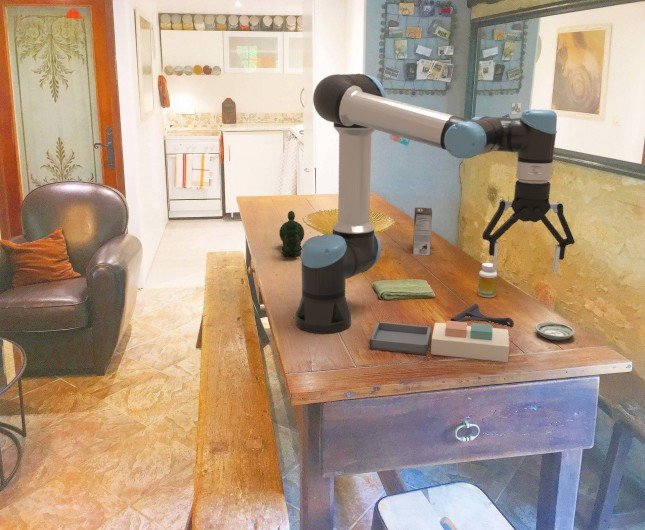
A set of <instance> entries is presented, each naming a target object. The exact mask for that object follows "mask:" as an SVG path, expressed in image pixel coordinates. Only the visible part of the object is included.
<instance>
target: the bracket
mask: <svg viewBox="0 0 645 530" xmlns="http://www.w3.org/2000/svg"><path fill="white" fill-rule="evenodd" d="M469 316H470V317H469ZM471 320H473V321H474V320H478V322H479V320H480V322H488V321H491V322H490V323H492V322H494V323H493V324H496V323H498V324H497V325H500V324H502V325H501V326H504V325H508V324H509V325H508V326H510V327H509V328H512V327H513V326H514V320H513V319H512V318H511V317H493V316H492V317H490V316H486V315H484V314H483V313H481V312H480V308H479V305H478V304H477V303H474V304H472V305H471V306H469V307H468V308H466V309H464V310H463V311H461V312H460V313H458V314H457V315H455V316H454V317H452V318H451V319H450V320H449V321H458V322H473V321H471ZM474 322H475V321H474Z"/></svg>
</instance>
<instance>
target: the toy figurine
mask: <svg viewBox="0 0 645 530" xmlns="http://www.w3.org/2000/svg"><path fill="white" fill-rule="evenodd" d="M295 214H296V213H295V212H294V211H293V210H290V211H288V214H287V219H288V220H287V221H286V222H284V223H283V224H282V225H281V226H280V228H279V231H278V232H279V238H280V241H282V247H281V249H282V250H281V251H282V256H283V257H285V258H288V257H289V256H294V257H295V258H298V257H301V254H302V245H301V244H302V242H303V239H304V238H305V230H304V227H303V225H302V224H301V223H299V222H298V221H296V220H295V217H296V215H295Z"/></svg>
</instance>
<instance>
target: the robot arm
mask: <svg viewBox="0 0 645 530" xmlns="http://www.w3.org/2000/svg"><path fill="white" fill-rule="evenodd" d="M312 101H313V102H312V103H313V106H314V109H315V112H316V113H317V114H318V116H319V117H321V118H322V119H324V120H325V121H326V122H330V123H333V128H334V129H335V131H336V132H337V133H338V134H339V135H338V194H337V195H338V204H337V205H338V207H337V208H338V210H337V212H338V214H337V215H338V216H337V217H338V218H337V219H338V220H337V222H335V224H333V226H332V234H331V233H330V234H329V233H327V234H326V233H325V234H322V235H319V234H318V235H315V236H312V237H310V238H308V239H307V240H305V241H304V242H303V244H302V245H301V247H302V250H301V255H300V262H301V298H300V301H299V304H298V307H297V309H296V314H295V324H296V326H297V327H298V328H299V329H301V330H303V331H305V332H308V333H315V334H317V333H319V334H331V333H332V334H333V333H338V332H342V331H345V330H347V329H348V328H350V327H351V325H352V313H351V309H350V306H349V303H348V301H347V298H346V280H347V279H350V278H353V277H354V276H356V275H359V274H361V273H362V274H363V273H365V272H368V271H369V270H370V269H371V268H373V267H375V265H376V264H377V263H378V261H379V260H380V259H381V258H380V257H381V254H382V244H381V240H380V239H379V238H378V235H377V234H376V233H375V226H374V225H373V224H372V223H371V222H370V203H371V202H370V201H371V200H370V199H371V197H370V196H371V170H372V168H371V164H372V163H371V161H372V136H373V135H372V134H374V132H375V131H379V132H382V133H385V134H389V135H393V136H397V137H399V138H403V139H407V140H410V141H413V142H417V143H420V144H424V145H428V146H431V147H434V148H437V149H442V150H444V151H447V152H448V153H449V154H450V155H451V156H453V157H454V158H458V159H471V158H475V157H477V156H480V155H483V154H487V153H488V154H489V153H492V152H504V153H505V152H506V153H517V163H516V171H515V172H516V173H515V178H516V180H515V182H514V183H515V185H514V194H513V199H512V201H508V200H507V201H506V200H505V199H500V200H499V202H498V203H499V204H498V207H497V210H496V212H494V214H493V217H492V218H491V219H490V221H489V223H488V224H487V226H486V228H485V229H484V231H483V233H482V239H483V240H484V241H488V242H489V246H488V247H489V248H488V255H489V256H492V258H493V259H492V264H493V270H495V271H497V266H498V264H497V263H498V252H499V240H498V239H500V238H501V237H502V236H504V235H503V234H505V233H506V232H507V231H508V230H509V229H510V228H511V227H512V226H513V225H515V223H517V222H518V221H519V220H520V221H522V223H523V222H525V223H527V222H532V223H537V222H539V221H541V222H542V223H543V224H544V226H545V227H546V228H547V230H548V231H549V232H550V234H551V235H552V237H554V239H555V240H556V241H557V243H555V244H554V245H555V246H554V253H553V254H554V255H553V263H552V273H553V275H558V270H559V262H560V260H562V261H564V259H565V253H566V247H567V246H569V245H574V244H575V238H574V236H573V234H572V231H571V229H570V226H569V223H568V222H567V220H566V217H565V214H564V205H563V203H562V202H561V201H557V202H555V203H553V202H552V203H551V202H550V193H551V183H550V181H551V179H552V171H553V162H554V154H555V145H556V137H557V134H558V133H557V132H558V131H557V122H558V121H557V120H558V119H557V118H558V115H557V113H556V112H555V111H554V110H552V109H551V110H550V109H524V110H523V111H522V112H521V116H520V117H518V118H516V117H515V118H512V117H511V118H510V117H508V118H507V117H495V116H489V115H486V116H474V117H472V118H471V119H468V118H464V117H461V116H456V115H453V114H449V113H445V112H442V111H437V110H432V109H429V108H425V107H421V106H418V105H414V104H411V103H410V104H409V103H406V102H403V101H400V100H394V99H391V98H388V97H387V93H386V91H385V88H384V86H383V85H382V83H381V82H380V81H379V80H378V79H377V78H376V77H374V76H372V75H369V74H365V73H364V74H363V73H351V74H350V73H348V74H345V73H344V74H340V73H336V74H330V75H328V76H326V77H324V78H323V79H321V80H320V81H319V82H318V83H317V85H316V86H315V89H314V91H313V97H312ZM509 208H511V210H513V213H512V214H511V215H510V217H509V218H508V219H507V220H505V222H504V223H502V225H500V227H499V228H497V229H496V231H494V232H493V233H492V231H493V230H494V229H495V227H496V225H497V224H498V223H499V221H500V219H501V217H502V216H503V215H504V212H506V211H508V210H509ZM550 210H552V212H553V213H555V214H556V215H557V218H558V220H559V223H560V225H561V227H562V230H563V232H564V234H565V237H566V238H563V237H562V235H561V234H560V233H559V231H558V230H557V229H556V228H555V226H554V225H553V224H552V223H551V221H550V219H549V218H548V217H547V216H546V214H547V213H548V212H549V211H550ZM491 233H492V234H491Z"/></svg>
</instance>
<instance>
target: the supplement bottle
mask: <svg viewBox="0 0 645 530" xmlns="http://www.w3.org/2000/svg"><path fill="white" fill-rule="evenodd" d="M497 282H498V273H497V270H493V262H484V263H482V264H481V270H480V271H479V273H478V283H477V295H478V296H479V297H481V298H482V297H483V298H494V297H495V296H496V294H497V284H498V283H497Z"/></svg>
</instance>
